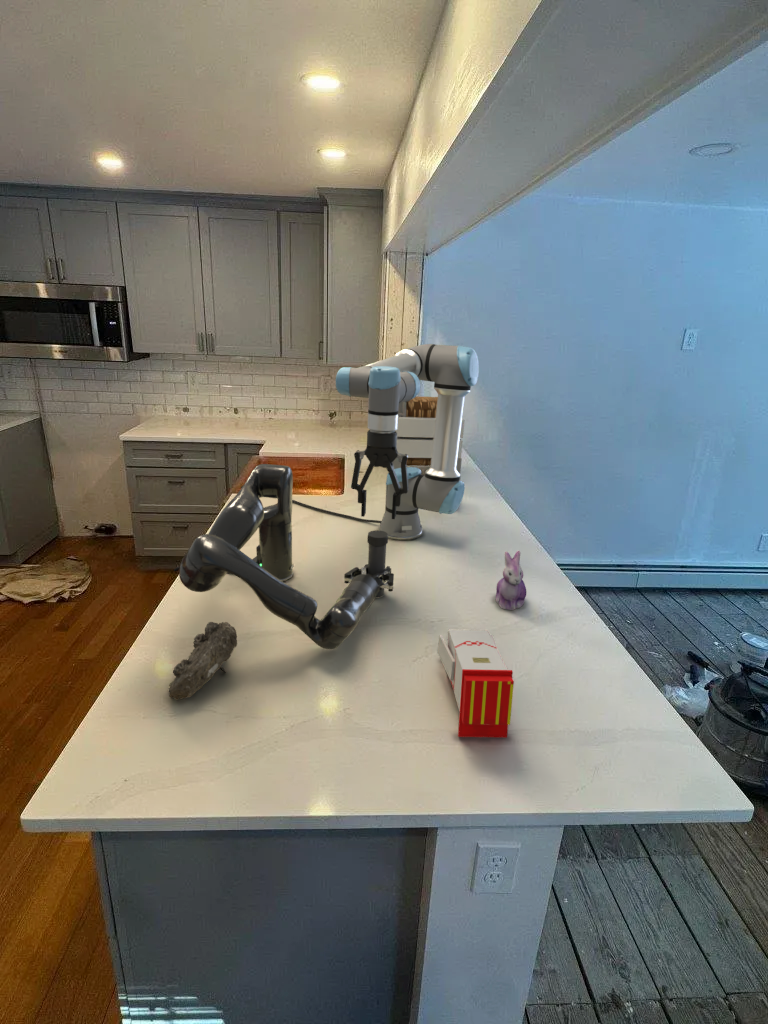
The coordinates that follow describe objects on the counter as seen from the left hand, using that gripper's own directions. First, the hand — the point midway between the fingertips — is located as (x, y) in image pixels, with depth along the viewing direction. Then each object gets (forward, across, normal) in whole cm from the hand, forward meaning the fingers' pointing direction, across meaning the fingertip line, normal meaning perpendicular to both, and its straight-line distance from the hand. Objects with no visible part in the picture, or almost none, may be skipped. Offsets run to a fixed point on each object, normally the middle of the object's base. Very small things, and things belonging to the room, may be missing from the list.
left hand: (379, 567), depth 157 cm
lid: (-3, 0, +11) cm, 11 cm away
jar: (-3, 0, -7) cm, 7 cm away
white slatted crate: (+122, -18, -7) cm, 124 cm away
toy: (-36, +32, -7) cm, 49 cm away
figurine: (+6, +36, -7) cm, 37 cm away
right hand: (-3, 0, +16) cm, 17 cm away
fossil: (-49, -22, -7) cm, 55 cm away
